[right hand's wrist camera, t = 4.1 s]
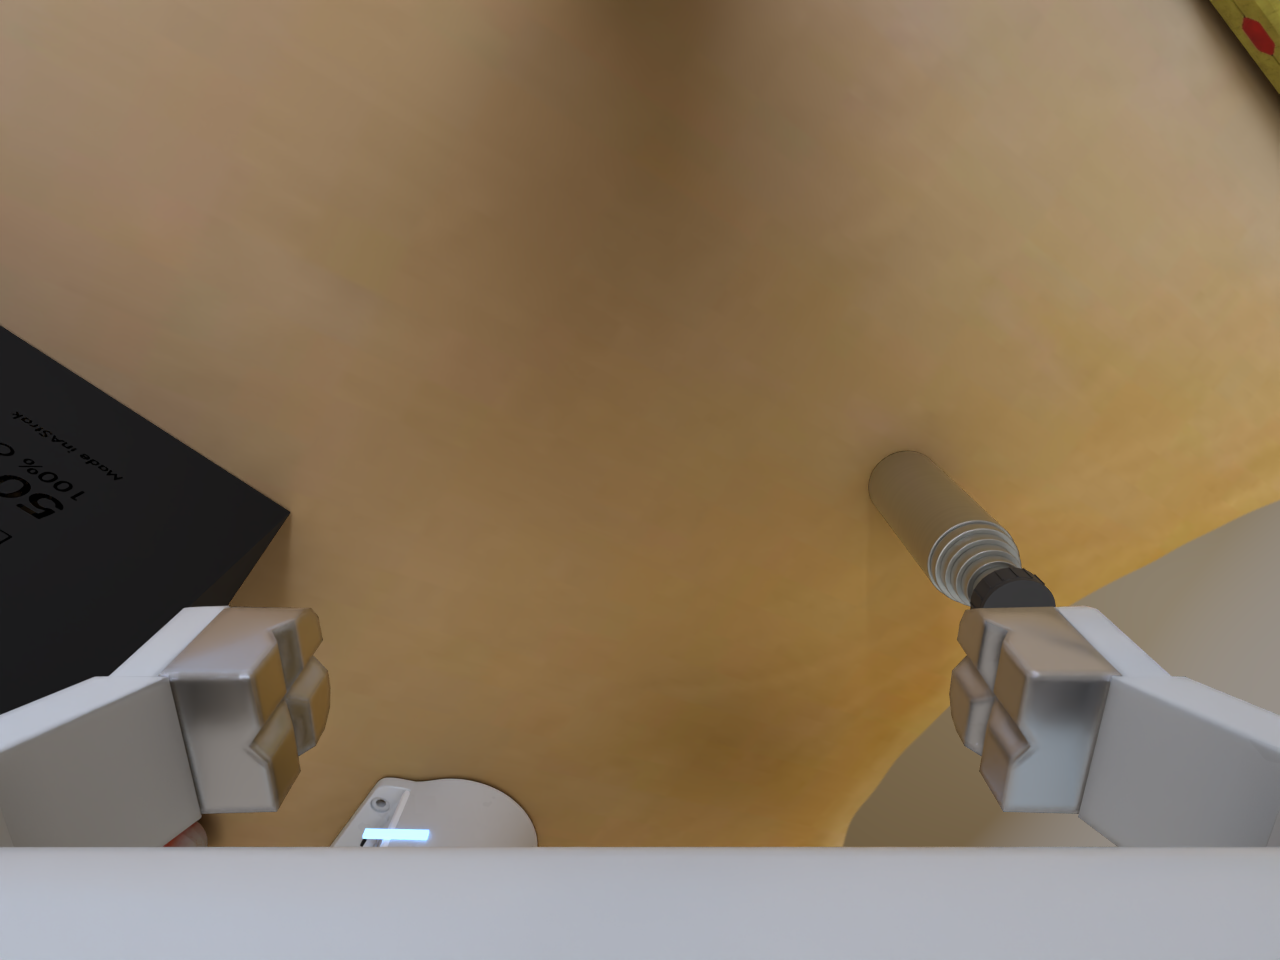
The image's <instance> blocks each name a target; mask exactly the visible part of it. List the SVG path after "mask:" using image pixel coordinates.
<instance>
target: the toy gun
mask: <svg viewBox="0 0 1280 960" xmlns="http://www.w3.org/2000/svg"><path fill="white" fill-rule="evenodd" d="M1210 2H1211V3H1212V4H1213V6H1214V7H1215V8H1216V10H1217V11H1218V12H1219V14H1220V15H1221V16H1222V18H1223V19H1224V21H1225V22H1226V23H1227V25H1228V26H1229V27H1230V29H1231V30H1232V31H1233V33H1234V34H1235V35H1236V37H1237V38H1238V39H1239V41H1240V42H1241V43H1242V45H1243V46H1244V47H1245V49H1246V50H1247V51H1248V53H1249V54H1250V55H1251V57H1252V58H1253V59H1254V61H1255V62H1256V63H1257V65H1258V66H1259V67H1260V69H1261V70H1262V72H1263V73H1264V74H1265V76H1266V77H1267V78H1268V80H1269V81H1270V82H1271V84H1272V85H1273V86H1274V88H1275V89H1276V90H1277V92H1278V93H1279V94H1280V0H1210Z"/></svg>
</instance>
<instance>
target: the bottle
mask: <svg viewBox="0 0 1280 960" xmlns="http://www.w3.org/2000/svg"><path fill="white" fill-rule="evenodd" d="M869 495H870V498H871V500H872V502H873V504H874V505H875V506H876V508H877V509H878V510H879V512H880V513H881V515H882V516H883V517H884V519H885V520H886V521H887V523H888V524H889V525H890V527H891V528H892V529H893V531H894V532H895V533H896V535H897V536H898V538H899V539H900V540H901V542H902V543H903V544H904V546H905V547H906V548H907V550H908V551H909V552H910V554H911V555H912V556H913V558H914V559H915V560H916V562H917V563H918V565H919V566H920V567H921V569H922V570H923V571H924V573H925V574H926V575H927V577H928V578H929V579H930V581H931V582H932V583H933V585H934V586H935V587H936V588H937V589H938V590H939V591H940V592H941V593H943V594H945V595H946V596H947V597H949V598H950V599H952V600H954V601H956V602H960V603H962V604H964V605H967V606H970V602H971V596H972V593H973V590H974V589H975V587H976V586H977V584H978V583H979V582H980V581H981V580H982V578H984V577H985V576H987V575H988V574H990V573H992V572H994V571H995V570H999V569H1002V568H1009V567H1014V568H1021V569H1022V567H1021V560H1020V556H1019V551H1018V549H1017V546H1016V545H1015V543H1014V541H1013V539H1012V537H1011V535H1010V534H1009V533H1008V532H1007V531H1006V530H1005V529H1004V528H1003V527H1002V526H1001V525H1000V524H999V523H998V522H997V521H996V520H994V519H993V518H992V517H991V516H990V515H989V514H988V513H987V512H986V511H985V510H984V509H983V508H982V507H981V506H979V505H978V504H977V503H976V502H975V501H974V500H973V499H972V498H971V497H970V496H969V495H968V494H967V493H966V492H965V491H963V490H962V489H961V488H960V487H959V486H958V485H957V484H956V483H955V482H954V481H953V480H952V479H951V478H950V477H948V476H947V475H946V474H945V473H944V472H943V471H942V470H941V469H940V468H939V467H938V466H937V465H936V464H935V463H933V462H932V461H931V460H930V459H929V458H928V457H926V456H925V455H923V454H921V453H918V452H914V451H902V452H897V453H894V454H892V455H890V456H888V457H886V458H885V459H883V460H882V461H881V462H880V463H879V464H878V465H877V466H876V467H875V469H874V470H873V472H872V474H871V477H870V480H869ZM970 607H971V606H970Z"/></svg>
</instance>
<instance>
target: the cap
mask: <svg viewBox="0 0 1280 960" xmlns="http://www.w3.org/2000/svg"><path fill="white" fill-rule="evenodd" d="M970 606H971V609H975V608H1017V607H1055V600H1054V597H1053V595H1052V593H1051V592H1050V590H1049V589H1048V588H1047V587H1046V586H1045V584H1044V583H1043V582H1042V581H1041V580H1040V579H1039V578H1038V577H1037V576H1036V575H1035V574H1034V575H1033V574H1032V573H1030V572H1029V571H1027V570H1025V569H1024V568H1023V569H1021V568H1014V567H1009V568H1002V569H999V570H995V571H994V572H992V573H990V574H988V575H987V576H985V577H984V578H982V580H981V581H980V582H979V583H978V584H977V586H976V587H975V589H974V590H973V593H972V596H971V602H970Z"/></svg>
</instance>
